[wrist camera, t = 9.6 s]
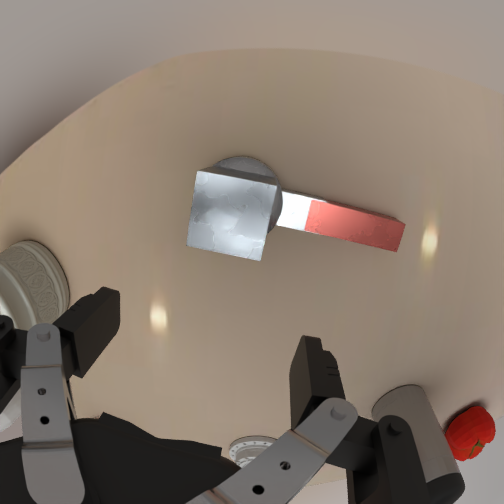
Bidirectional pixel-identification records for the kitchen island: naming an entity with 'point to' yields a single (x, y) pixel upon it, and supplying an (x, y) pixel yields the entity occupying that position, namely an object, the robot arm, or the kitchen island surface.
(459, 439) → the tomato
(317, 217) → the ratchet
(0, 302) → the jar
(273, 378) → the kitchen island surface
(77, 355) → the robot arm
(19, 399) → the soap bottle
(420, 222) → the kitchen island surface
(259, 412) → the kitchen island surface
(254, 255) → the brushed metal cube
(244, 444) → the mechanical component
